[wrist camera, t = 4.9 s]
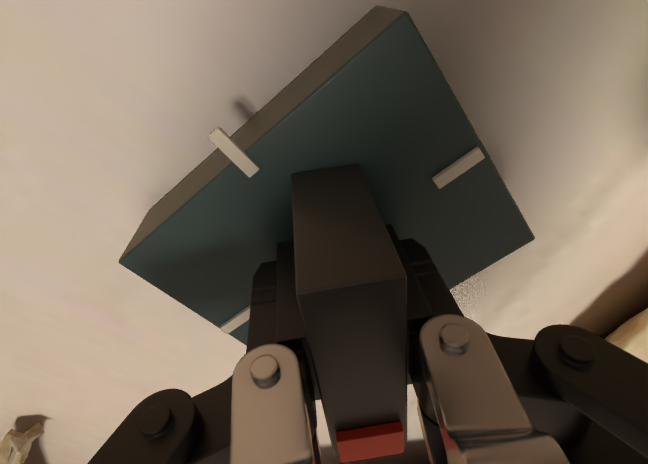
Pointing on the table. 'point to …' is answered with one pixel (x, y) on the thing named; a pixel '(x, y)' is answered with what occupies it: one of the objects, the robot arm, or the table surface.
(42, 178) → the table surface
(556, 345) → the robot arm
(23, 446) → the branching beige root
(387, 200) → the panel
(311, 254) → the knob
